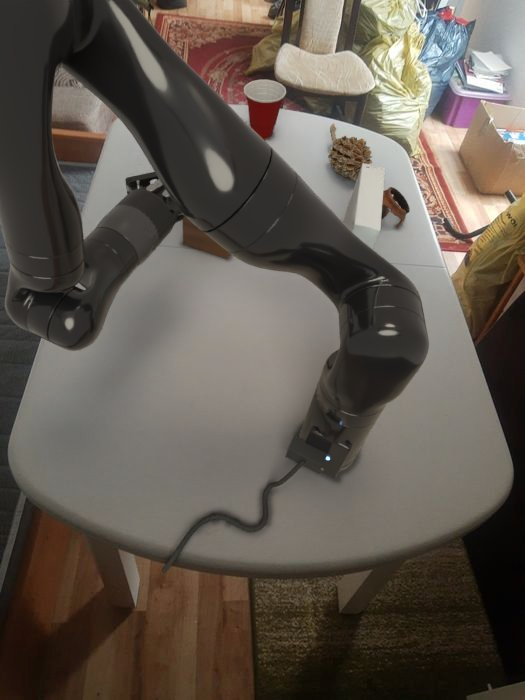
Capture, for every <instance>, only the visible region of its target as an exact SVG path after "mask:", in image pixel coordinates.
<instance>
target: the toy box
mask: <svg viewBox="0 0 525 700" xmlns="http://www.w3.org/2000/svg"><path fill="white" fill-rule="evenodd" d="M182 243H183V244H182V245H184V246H188V247H190V248H193V249H197V250H198V251H199V250H200V251H202V252H205V253H209V254H212V255H214V256H217V257H221V258H224V259H229V257H230V255H231V254H230V253H229V252H228V251H226V250H225V249H224V248H223V247H221V246H220V245H219V244H218V243H216V242H215V241H214V240H213V239H211V238H210V237H209V236H208V235H206V234H205V233H204V232H203V231H202V230H200V229H199V228H198V227H196V226H195V225H194V224H193V223H192V222H191V221H190V220H189V219H188V218H187V217H186V216H185V217H184V219H183V220H182Z"/></svg>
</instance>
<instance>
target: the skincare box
mask: <svg viewBox="0 0 525 700" xmlns="http://www.w3.org/2000/svg"><path fill="white" fill-rule="evenodd" d="M385 174H386V168H385V167H380V166H377V165H372V164H365V163H362V166H361V169H360V172H359V175H358V178H357V180H355V181H356V182H355V184H354V188H353V190H352V193H351V195H350V198H349V201H348V205H347V207H346V210H345V213H344V217H343V220H342V222H343V223H344V224H345V225H346V226H347V227H348V228H349V229H350V230H351V231H352V232H353V233H354V234H355V235H356V236H357V237H358V238H359V239H360V240H361V241H363V242H364V243H365V244H366V245H368V246H369V247H370V248H371V249H373V248H374V246H375V244H376V241H377V239H378V236H379V234H380V232H381V229H382V228H381V227H382V220H381V216H382V203H383V191H384V190H385V189H384V188H385V187H384V186H385ZM373 250H374V249H373Z"/></svg>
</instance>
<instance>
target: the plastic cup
mask: <svg viewBox="0 0 525 700" xmlns="http://www.w3.org/2000/svg"><path fill="white" fill-rule="evenodd" d="M243 93H244V95H245V97H246V101H247V109H248V119H249V126H250V127H251V128H252V129H253V130H254V131H255V132H256V133H257V134H258V135H259V136H261V137H262V138H263V139H264V140H268V139H270V138H271V137H272V135H273V133H274V129H275V126H276V124H277V120H278V117H279V114H280V110H281V106H282V103H283V100H284V97H286V94H287V89H286V87H285V86H284V85H283V84H282V83H280V82H278V81H276V80H272V79H256V80H251V81H250V82H247V83H246V84H245V86H244V87H243Z"/></svg>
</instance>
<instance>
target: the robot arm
mask: <svg viewBox="0 0 525 700" xmlns="http://www.w3.org/2000/svg"><path fill="white" fill-rule="evenodd" d="M60 69H63V70H64V71H65V72H66V73H68V74H69V75H70V76H71V77H72V78H74V79H75V80H77V82H79V83H80V84H81V85H83V86H84V87H85V88H86V89H87V90H88V91H89V92H91V94H93V95H94V96H95V97H96V98H98V99H99V100H100V101H101V102H102V103H103V104H104V105H105V106H107V108H108V109H109V110H110V111H112V112H113V114H115V116H116V117H117V118H118V119H119V120H120V121H121V123H122V124H123V125H124V126H125V128H126V129H127V130H128V131H129V133H130V134H131V136H133V138H134V140H135V141H136V143H137V146H139V148H140V149H141V151H142V153H143V155H144V157H145V158H146V160H147V161H148V163H149V165H150V166H151V169H152V170H153V171H152V172H146V173H141V174H137V175H132V176H128V177H126V178H125V179H124V180H125V189H126V195H125V196H124V197H123V198H122V199H121V200H120V201H119V202H118V203H117V204H116V205H115V206H114V207H113V208H112V209H110V211H109V212H108V213H107V214H106V215H105V216H103V218H102V219H101V220H100V221H99V223H98V224H97V225H96V226H95V228H94V229H93V230H92V231H91V232H90V233H89V234H88V235H87V236H86V237H85V238H84V227H83V218H82V213H81V209H80V205H79V203H78V199H77V197H76V194H75V192H74V190H73V187H71V185H70V183H69V182H68V180H67V178H66V177H65V174H63V172H62V169H61V168H60V166H59V162H58V159H57V156H56V151H55V146H54V137H53V103H54V101H53V100H54V88H55V79H56V74H57V73H58V71H59V70H60ZM151 181H154V182H153V183H151ZM185 216H186V217H187V218H188V219H189V220H190V221H191V222H192V223H193V224H194V225H195V226H196V227H198V228H199V229H200V230H202V231H203V232H204V233H205V234H206V235H208V236H209V237H210V238H211V239H213V240H214V241H215V242H216V243H218V244H219V245H220V246H221V247H223V248H224V249H225V250H226V251H228V252H229V253H230V255H232V256H233V257H234V258H236V259H237V260H239V261H241V262H243V263H244V264H247V265H249V266H251V267H254V268H259V269H262V270H269V271H274V272H283V273H291V274H295V275H298V276H301V277H303V278H304V279H306V280H307V281H309V283H312V284H313V285H314V286H315V287H316V288H318V289H319V291H321V292H322V293H323V294H324V295H325V296H326V297H327V298H328V299H329V301H330V302H332V304H333V305H334V307H335V308H336V310H337V313H338V329H339V332H338V333H339V347H338V349H336V350H335V351H333V352H332V353H331V354H330V355H328V357H327V358H326V359H325V362H324V364H323V366H322V370H321V373H320V376H319V378H318V381H317V384H316V386H315V390H314V393H313V395H312V398H311V401H310V404H309V406H308V410H307V412H306V415H305V418H304V421H303V424H302V426H301V429H300V431H299V434H298V436H297V435H294V436H293V438H292V439H291V442H290V444H289V446H288V447H287V451H286V454H285V458H287V459H288V460H290V461H292V462H295V463H296V464H295V466H293V467H292V469H291V470H290V471H289V472H287V473H286V474H285V475H284V476H283V477H282V478H280V479H279V480H276V481H272V482H271V483H269V484H267V486H266V487H265V489H264V491H263V493H262V519H261V522H259V523H258V524H257V525H253V526H249V525H246V524H244V523H242V522H240V521H238V520H236V519H235V518H233V517H231V516H229V515H227V514H222V513H215V514H214V513H213V514H210V515H207V516H206V517H204V518H202V519H200V520H199V521H198V522H196V523H195V524H194V525H193V526H192V527H190V529H189V530H188V531H187V532H186V534H185V536H184V537H183V538H182V539H181V541H180V542H179V544H178V546H177V547H176V549H175V550H174V552H173V553H172V554H171V556H170V557H169V559H168V560H167V562H166V563H165V564H164V566H163V567H162V568H161V573H162V574H165V573H167V572H168V571H169V569H170V568H171V567H172V566H173V564H174V563H175V561H176V560H177V559H178V557H179V556H180V554H181V552H182V551H183V549H184V548H185V546H186V545H187V543H188V542H189V540H190V539H191V537H192V536H193V535H194V534H195V532H196V531H197V530H199V528H201V527H202V526H203V525H205V524H207V523H209V522H211V521H214V520H221V521H225V522H227V523H229V524H231V525H233V526H234V527H236V528H238V529H239V530H240V529H241V530H242V531H245V532H249V533H254V532H258V531H261V530H262V529H263V528H264V527H266V525H267V524H268V519H269V505H268V497H269V493H270V492H271V490H272V489H273V488H276V487H280V486H282V485H283V484H285V483H286V482H287V481H288V480H290V479H291V478H292V477H293V476H294V475H296V473H297V472H298V471H299V470H300V469H302V467H305V468H306V469H309V470H311V471H313V472H315V473H317V474H320V473H321V472H322V473H324V474H326V475H328V476H330V477H332V478H337V476H338V475H339V473H340V472H343V471H345V470H347V469H348V468H350V467H351V465H352V464H353V463H354V461H355V460H356V458H357V456H358V454H359V452H360V450H361V448H363V446H364V444H365V441H366V440H367V438H368V436H369V435H370V433H371V432H372V429H373V428H374V426H375V425H376V423H377V421H378V420H379V418H380V416H381V415H382V413H383V411H384V410H385V408H386V406H387V405H388V404H390V403H391V402H393V401H394V400H396V399H397V398H398V397H399V396H401V395H402V394H403V392H404V391H405V390H406V388H407V387H408V386H409V384H410V383H411V381H412V380H413V379H414V378H415V376H416V374H417V373H418V372H419V371H420V369H421V367H422V366H423V364H424V362H425V360H426V358H427V355H428V353H429V349H430V339H429V334H428V328H427V323H426V317H425V313H424V308H423V302H422V298H421V295H420V293H419V291H418V289H417V287H416V285H415V284H414V282H412V281H411V279H409V277H407V276H406V275H405V274H404V273H403V272H402V271H401V270H399V269H398V268H397V267H396V266H394V264H392V263H390V262H389V260H387V259H386V258H384V257H383V256H382V255H381V254H379V253H378V252H377V251H375V250H374V249H371V248H370V247H369V246H368V245H366V244H365V243H364V242H363V241H361V240H360V239H359V238H358V237H357V236H356V235H355V234H354V233H353V232H352V231H351V230H350V229H349V228H348V227H347V226H346V225H345V224H344V223H343V220H342V219H341V218H340V217H339V216H338V215H337V214H336V213H335V212H334V211H333V210H332V209H331V208H330V206H328V204H326V203H325V202H324V201H323V199H322V198H320V196H318V195H317V194H316V192H315V191H314V190H313V189H312V188H311V187H310V186H309V185H308V184H307V183H306V182H305V180H304V179H303V178H302V176H300V175H299V174H298V172H296V170H295V169H294V168H293V167H292V166H291V165H290V164H288V163H287V161H286V160H284V158H283V157H282V156H281V155H280V154H279V153H278V152H277V151H276V150H275V149H274V148H273V147H272V146H271V145H270V144H269V143H268V142H267V141H266V139H263V138H262V137H261V136H259V135H258V134H257V133H256V132H255V131H254V130H253V129H252V128H251V127H250V124H248V123H247V122H246V121H245V120H244V119H243V118H242V117H241V116H240V115H239V114H238V113H237V112H236V111H235V109H233V108H232V107H231V106H230V105H229V104H228V102H227V101H225V100H224V99H223V98H222V97H221V96H220V94H219V93H218V92H217V91H216V90H215V89H214V88H213V87H212V86H211V85H210V84H209V83H207V81H206V80H205V79H204V78H203V77H201V76H200V74H198V73H197V72H196V70H194V69H193V68H192V67H191V66H190V64H188V63H187V61H186V60H184V59H183V58H182V57H181V56H180V54H179V53H178V52H176V51H175V50H174V48H173V47H172V46H171V45H170V44H169V43H168V42H167V40H166V39H165V38H164V37H163V36H162V35H161V34H160V33H159V31H158V30H157V29H156V28H155V27H154V26H153V24H152V23H151V22H150V20H148V19H147V17H146V16H145V15H144V13H143V12H142V11H141V9H140V8H139V7H138V6H137V5H136V4H135V2H134V1H133V0H0V229H1V233H2V237H3V240H4V245H5V249H6V253H7V257H8V260H9V263H10V265H9V271H8V280H7V287H6V293H5V298H4V308H5V312H6V314H7V315H8V317H9V318H10V320H11V321H12V322H13V323H14V324H15V325H16V326H17V327H19V328H20V329H22V330H24V331H26V332H27V333H31V334H32V335H35V336H36V337H38V338H41V339H43V340H45V341H47V342H49V343H51V344H53V345H54V346H57V347H59V348H61V349H63V350H66V351H70V352H77V351H81V350H84V349H86V348H88V347H91V345H92V344H93V343H95V342H96V341H97V339H98V338H99V336H100V334H101V332H102V330H103V327H104V325H105V322H106V320H107V316H108V314H109V312H110V309H111V307H112V305H113V302H114V300H115V299H116V296H117V295H118V293H119V291H120V290H121V288H122V286H123V285H124V284H125V283H126V281H127V280H128V279H129V278H130V277H131V276H132V274H133V273H134V272H135V271H136V270H137V268H139V267H140V266H141V265H143V264H144V263H145V262H146V261H147V260H148V259H149V258H150V256H152V254H153V253H154V252H155V251H156V250H157V248H158V247H159V246H160V245H161V243H162V242H163V241H164V240H165V239H166V238H167V237H168V236H169V234H170V233H171V231H173V228H174V227H175V224H177V223H179V222H182V221H183V219H184V217H185ZM78 284H79V285H80V286H81V287H83V288H84V289H83V288H80V287H78V286H77V285H78Z"/></svg>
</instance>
